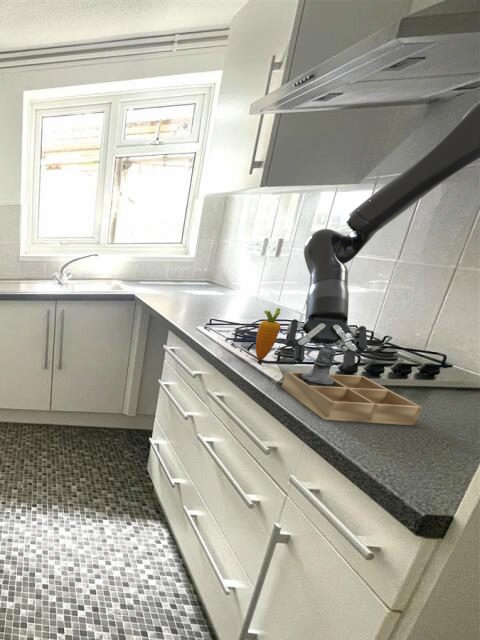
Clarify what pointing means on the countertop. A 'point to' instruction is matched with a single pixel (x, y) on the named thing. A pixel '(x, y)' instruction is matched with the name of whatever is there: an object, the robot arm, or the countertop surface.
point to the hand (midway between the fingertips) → (323, 365)
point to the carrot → (267, 334)
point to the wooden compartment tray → (352, 400)
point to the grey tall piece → (321, 368)
